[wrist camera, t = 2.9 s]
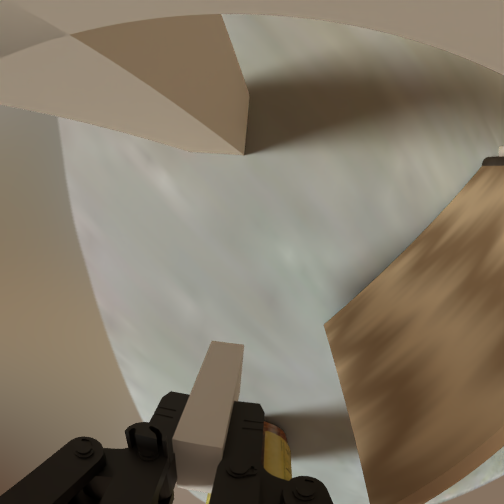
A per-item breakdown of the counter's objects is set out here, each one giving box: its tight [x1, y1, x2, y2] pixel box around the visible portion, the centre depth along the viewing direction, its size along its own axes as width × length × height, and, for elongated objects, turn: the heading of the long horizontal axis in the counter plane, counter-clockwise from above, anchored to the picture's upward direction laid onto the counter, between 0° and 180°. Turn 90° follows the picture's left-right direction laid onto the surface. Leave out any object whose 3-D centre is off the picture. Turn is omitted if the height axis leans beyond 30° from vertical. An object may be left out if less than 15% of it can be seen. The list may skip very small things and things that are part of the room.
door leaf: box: [324, 157, 504, 504], centre depth 12 cm, size 18×4×15 cm, turn 135°
